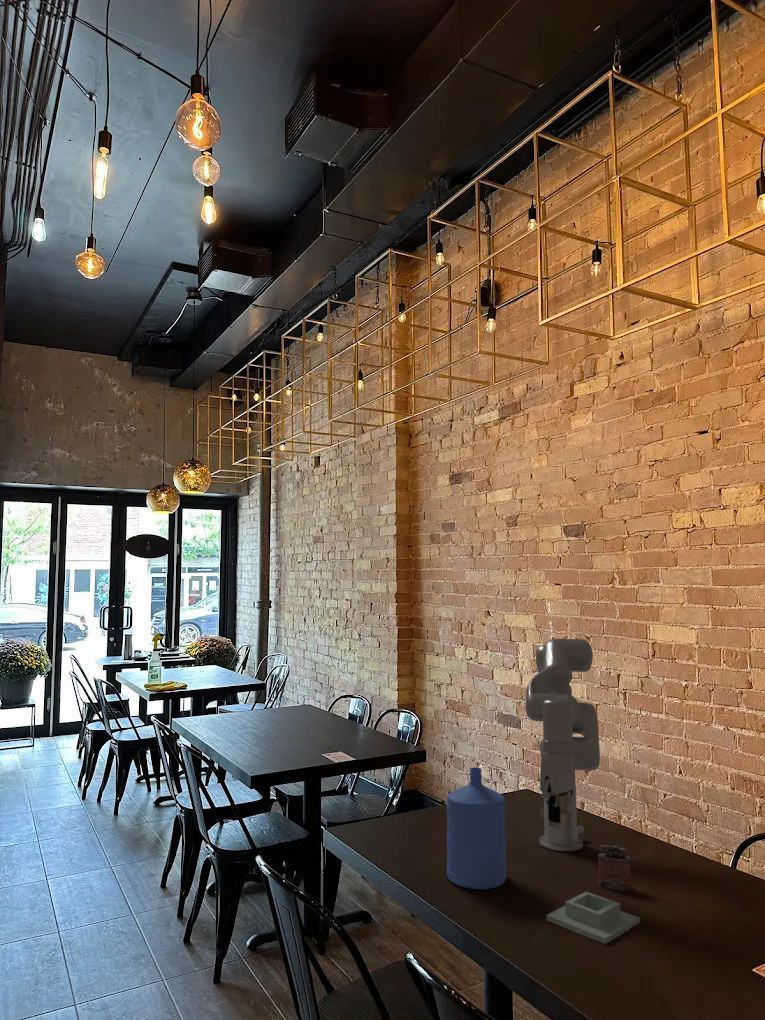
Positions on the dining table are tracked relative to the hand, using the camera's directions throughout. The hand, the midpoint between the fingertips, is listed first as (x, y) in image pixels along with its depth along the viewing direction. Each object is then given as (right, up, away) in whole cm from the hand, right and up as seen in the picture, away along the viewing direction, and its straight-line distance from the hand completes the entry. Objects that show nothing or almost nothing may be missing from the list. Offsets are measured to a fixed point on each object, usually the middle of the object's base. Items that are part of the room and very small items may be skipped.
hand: (559, 819), depth 185 cm
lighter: (+14, -17, -1) cm, 22 cm away
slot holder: (+2, -14, -21) cm, 26 cm away
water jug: (-21, -17, +3) cm, 28 cm away
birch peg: (0, -2, 0) cm, 2 cm away
